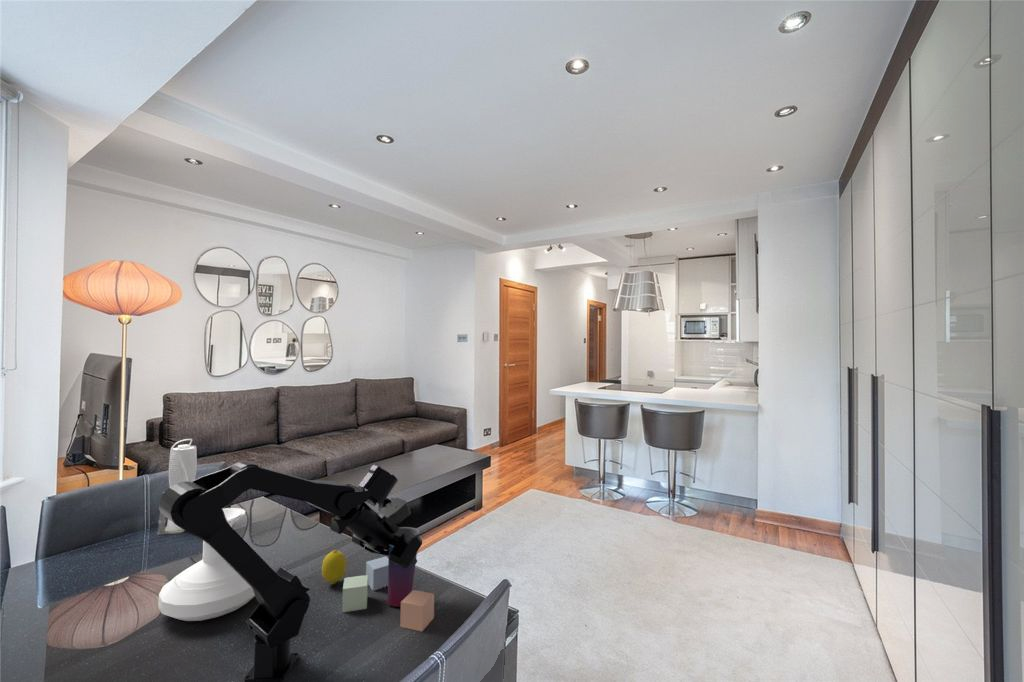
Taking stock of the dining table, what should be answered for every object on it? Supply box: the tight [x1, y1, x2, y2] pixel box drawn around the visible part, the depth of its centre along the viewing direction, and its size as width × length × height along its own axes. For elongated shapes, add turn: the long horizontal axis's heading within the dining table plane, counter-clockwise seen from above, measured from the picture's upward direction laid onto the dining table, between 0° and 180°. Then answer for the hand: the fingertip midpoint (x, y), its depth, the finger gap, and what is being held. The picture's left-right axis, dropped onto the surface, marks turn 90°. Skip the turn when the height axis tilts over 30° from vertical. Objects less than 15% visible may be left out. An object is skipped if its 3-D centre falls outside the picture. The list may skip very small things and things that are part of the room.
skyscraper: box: [156, 438, 198, 536], centre depth 139 cm, size 8×8×28 cm
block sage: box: [341, 574, 369, 613], centre depth 96 cm, size 5×5×5 cm
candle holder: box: [157, 507, 255, 622], centre depth 97 cm, size 20×20×19 cm
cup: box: [387, 526, 420, 608], centre depth 98 cm, size 7×7×15 cm
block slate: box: [365, 555, 389, 592], centre depth 106 cm, size 5×5×5 cm
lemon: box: [321, 549, 347, 585], centre depth 105 cm, size 6×6×8 cm
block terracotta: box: [399, 589, 435, 633], centre depth 90 cm, size 5×5×5 cm
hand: (406, 559), depth 99 cm, fingers open, 6 cm apart
